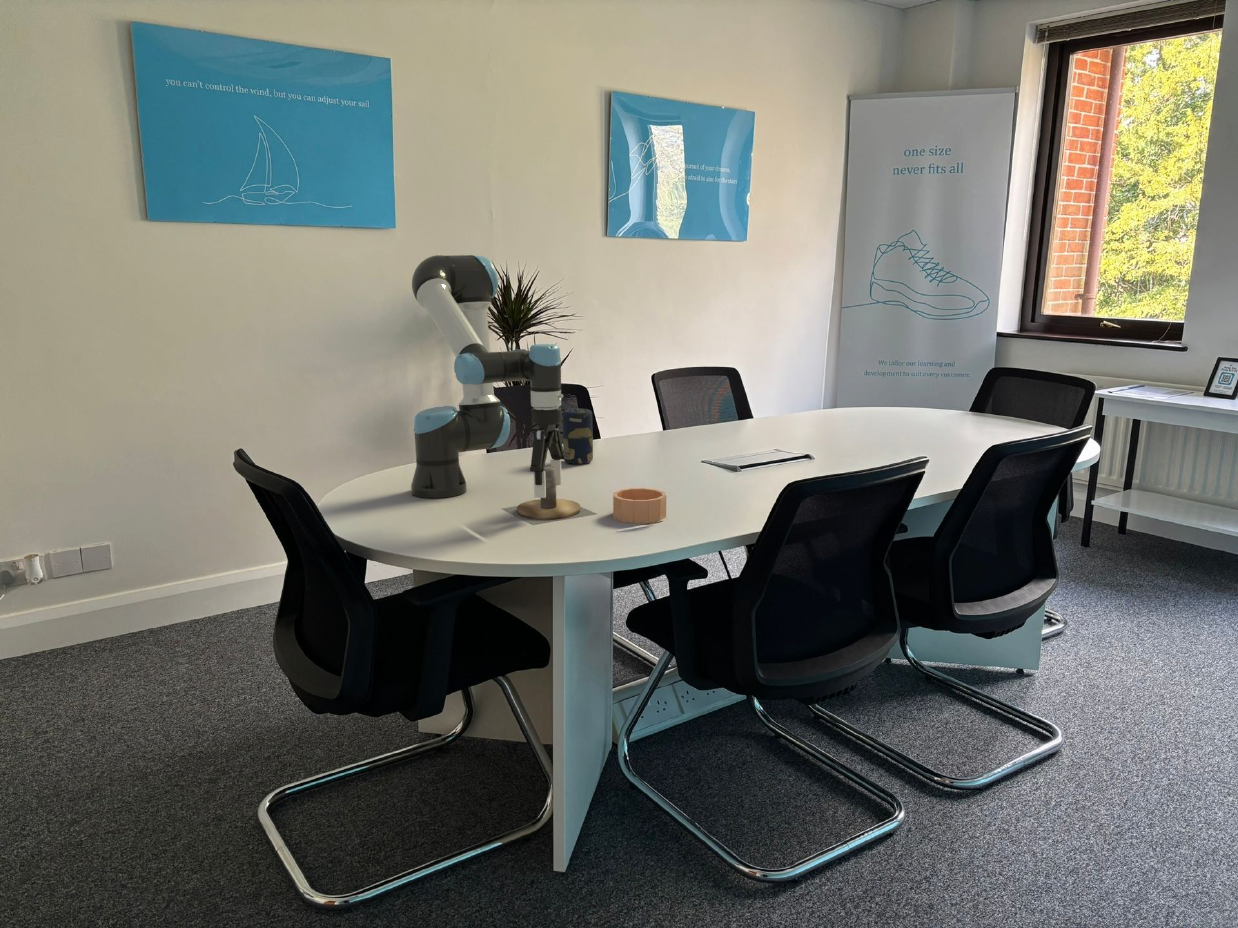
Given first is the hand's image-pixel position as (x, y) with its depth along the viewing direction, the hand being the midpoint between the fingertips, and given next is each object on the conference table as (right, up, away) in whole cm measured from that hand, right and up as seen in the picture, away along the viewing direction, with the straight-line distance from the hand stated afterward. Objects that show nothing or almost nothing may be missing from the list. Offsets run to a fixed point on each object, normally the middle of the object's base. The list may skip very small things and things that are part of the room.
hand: (548, 490), depth 227 cm
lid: (0, -5, +1) cm, 5 cm away
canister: (+5, +7, +62) cm, 63 cm away
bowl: (+23, -7, -3) cm, 24 cm away
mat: (0, -6, +1) cm, 6 cm away
